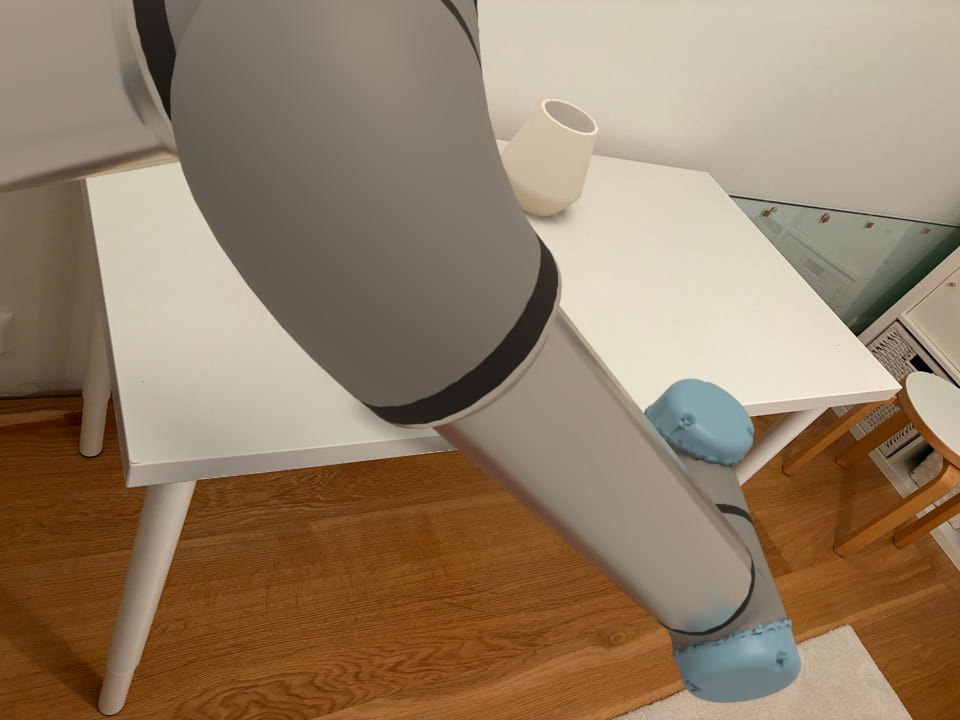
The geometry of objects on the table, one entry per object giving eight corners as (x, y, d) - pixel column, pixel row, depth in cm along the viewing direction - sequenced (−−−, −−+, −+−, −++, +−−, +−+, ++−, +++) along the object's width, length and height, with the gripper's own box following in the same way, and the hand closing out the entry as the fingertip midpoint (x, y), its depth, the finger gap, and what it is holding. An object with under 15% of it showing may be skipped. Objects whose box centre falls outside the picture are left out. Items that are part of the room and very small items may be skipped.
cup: (527, 165, 116) (565, 86, 107) (585, 216, 112) (630, 139, 103) (471, 176, 107) (507, 91, 98) (532, 232, 103) (576, 149, 94)
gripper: (432, 513, 62) (299, 342, 69) (601, 416, 78) (479, 287, 86) (462, 463, 57) (316, 285, 64) (636, 371, 73) (504, 238, 81)
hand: (409, 286), depth 75 cm, fingers open, 13 cm apart
